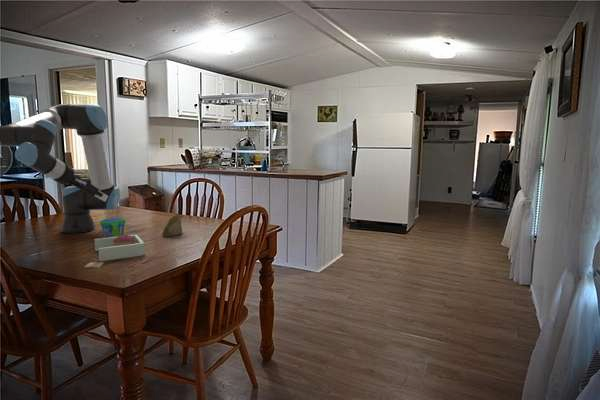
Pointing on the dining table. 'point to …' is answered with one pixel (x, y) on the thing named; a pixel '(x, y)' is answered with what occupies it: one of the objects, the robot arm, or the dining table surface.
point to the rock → (173, 226)
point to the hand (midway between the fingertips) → (105, 198)
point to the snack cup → (113, 227)
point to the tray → (118, 248)
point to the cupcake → (123, 239)
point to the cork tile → (94, 265)
